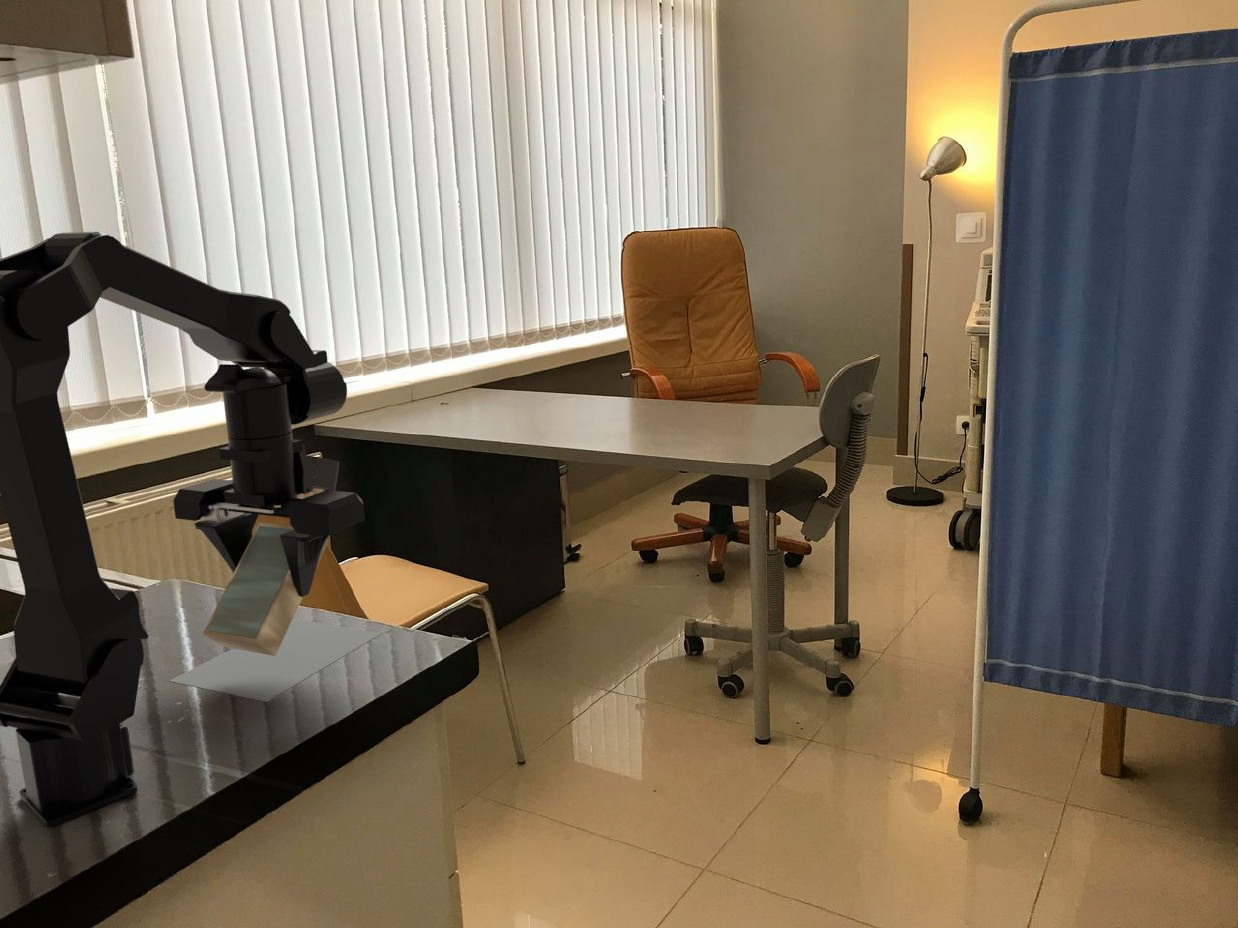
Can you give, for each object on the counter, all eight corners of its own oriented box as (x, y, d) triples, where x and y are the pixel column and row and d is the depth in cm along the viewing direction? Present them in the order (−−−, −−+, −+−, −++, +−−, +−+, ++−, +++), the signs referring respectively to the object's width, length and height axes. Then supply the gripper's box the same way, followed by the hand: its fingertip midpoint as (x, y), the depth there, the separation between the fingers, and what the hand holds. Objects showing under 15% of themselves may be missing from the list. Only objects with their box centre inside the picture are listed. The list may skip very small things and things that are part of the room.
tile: (255, 642, 91) (310, 528, 96) (202, 633, 93) (258, 521, 99) (275, 656, 93) (327, 543, 99) (222, 646, 96) (276, 537, 101)
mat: (267, 705, 91) (266, 701, 90) (169, 684, 95) (169, 680, 95) (382, 636, 106) (382, 633, 106) (293, 621, 110) (292, 618, 110)
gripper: (393, 424, 97) (405, 576, 101) (246, 414, 105) (261, 556, 108) (317, 446, 87) (332, 614, 91) (160, 434, 95) (180, 590, 98)
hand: (276, 591), depth 97 cm, fingers closed on tile, 6 cm apart
